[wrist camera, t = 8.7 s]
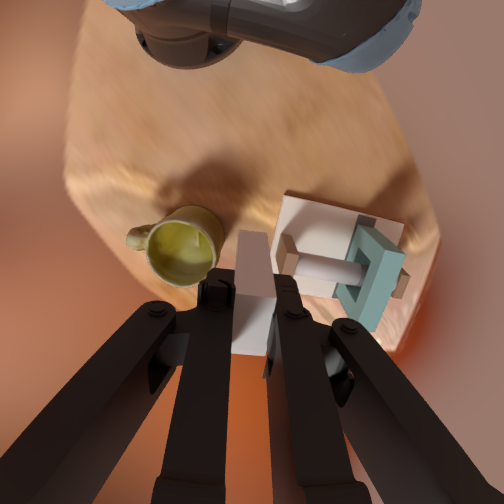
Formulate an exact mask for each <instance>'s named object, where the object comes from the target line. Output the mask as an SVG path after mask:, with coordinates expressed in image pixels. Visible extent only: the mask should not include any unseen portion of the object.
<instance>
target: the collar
mask: <svg viewBox="0 0 504 504" xmlns="http://www.w3.org/2000/svg"><path fill="white" fill-rule="evenodd" d="M405 256H406V254H405V253H404V252H403V251H401V250H400V249H399V248H398V247H397V246H396V245H395V244H393V243H392V242H391V241H390V240H389V239H388V238H386V237H385V236H384V235H383V234H382V233H381V232H379V231H378V230H377V229H376V228H371V227H367V226H363V225H359V224H358V225H357V229H356V232H355V235H354V238H353V242H352V245H351V248H350V251H349V254H348V257H347V260H346V261H350V262H356V263H361V264H366V265H369V268H368V271H367V274H366V277H365V279H364V282H363V285H362V287H360V286H354V285H348V284H343V283H339V284H338V287H337V290H336V294H337V296H338V298H339V300H340V302H341V304H342V306H343V308H344V310H345V312H346V314H347V316H348V318H350V319H354V320H356V321H358V322H360V323H361V324H362V325H363V326H364V327H365V328H366V329H367V331H368V332H375V330H376V328H377V326H378V323H379V321H380V319H381V317H382V314H383V312H384V310H385V307H386V305H387V303H388V300H389V298H390V295H391V293H392V290H393V288H394V285H395V283H396V280H397V278H398V275H399V273H400V270H401V267H402V265H403V262H404V259H405Z"/></svg>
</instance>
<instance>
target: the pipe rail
mask: <svg viewBox="0 0 504 504" xmlns="http://www.w3.org/2000/svg"><path fill="white" fill-rule="evenodd" d="M358 224H359V225H363V226H367V227H371V228H376V229H377V230H378V231H379V232H381V233H382V234H383V235H384V236H385V237H386V238H388V239H389V240H390V241H391V242H392V243H393V244H395V245H396V246H398V243H399V240H400V237H401V234H402V231H403V228H404V224H403V223H400V222H396V221H392V220H388V219H385V218H381V217H377V216H373V215H369V214H365V213H361V212H357V211H353V210H349V209H345V208H341V207H337V206H333V205H329V204H324V203H320V202H316V201H311V200H307V199H302V198H298V197H293V196H289V195H283V199H282V203H281V208H280V212H279V216H278V220H277V224H276V228H275V233H274V237H273V241H272V245H271V249H270V256H271V263H272V269H273V273H275V274H285V275H291V276H292V277H293V278H294V279H295V280H296V282H297V286H298V289H299V293H300V294H304V295H311V296H317V297H323V298H330V299H336V300H339V298H338V296H337V294H336V290H337V287H338V284H339V283H343V284H348V285H354V286H360V287H362V285H363V282H364V279H365V277H366V274H367V271H368V268H369V265H366V264H361V263H356V262H350V261H346V260H347V257H348V254H349V251H350V248H351V245H352V242H353V238H354V235H355V232H356V229H357V225H358ZM410 277H411V276H410V275H409V274H408V273H407V272H406V271H405V270H404V269H403V268H402V267H401V270H400V273H399V275H398V278H397V280H396V283H395V285H394V288H393V290H392V293H391V296H392V297H393V298H398V299H402V297H403V294H404V292H405V289H406V287H407V284H408V282H409V279H410Z"/></svg>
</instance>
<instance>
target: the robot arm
mask: <svg viewBox="0 0 504 504" xmlns="http://www.w3.org/2000/svg"><path fill="white" fill-rule="evenodd" d="M103 1H104V2H105V3H106V4H108V5H109V6H110V7H111V6H112V7H113V8H115V9H116V10H118V11H119V12H120V13H121V14H122V15H124V16H125V17H126V18H127V19H129V20H130V21H131V22H132V23H133V24H135V31H136V36H137V39H138V41H139V43H140V45H141V46H142V48H143V49H144V50H145V52H146V53H147V54H148V55H150V56H151V57H152V58H154V59H155V60H156V61H158V62H160V63H161V64H164V65H166V66H169V67H172V68H176V69H198V68H203V67H207V66H210V65H212V64H215V63H217V62H219V61H221V60H223V59H224V58H226V57H227V56H229V55H230V54H231V53H232V52H233V51H234V50H235V49H236V48H237V47H238V46H239V45H240V44H241V42H242V41H243V40H246V41H250V42H254V43H258V44H262V45H265V46H269V47H272V48H276V49H279V50H283V51H286V52H289V53H292V54H296V55H299V56H302V57H305V58H308V59H309V60H310V61H311V62H312V63H314V64H317V65H327V66H330V67H333V68H336V69H339V70H342V71H345V72H348V73H364V72H368V71H370V70H373V69H375V68H376V67H378V66H380V65H381V64H383V63H384V62H385V61H386V60H388V58H390V57H391V56H392V55H393V54H394V53H395V52H396V51H397V50H398V49H399V47H400V46H401V45H402V44H403V43H404V41H405V40H406V38H407V37H408V35H409V34H410V32H411V30H412V29H413V24H412V22H413V20H414V19H416V18H417V17H418V16H419V13H420V9H421V5H422V0H103ZM266 350H267V353H268V355H267V360H266V365H265V369H264V374H263V378H264V379H265V378H266V382H267V398H268V415H269V433H270V450H271V468H272V488H273V504H372V501H371V497H370V493H369V490H368V488H367V486H366V485H365V484H364V483H363V482H360V481H356V479H355V478H354V475H353V472H352V468H351V464H350V459H349V455H348V451H347V447H346V442H345V438H344V434H343V431H344V433H345V435H346V437H347V438H348V440H349V442H350V444H351V445H352V447H353V449H354V451H355V453H356V454H357V456H358V458H359V460H360V462H361V463H362V465H363V467H364V469H365V470H366V472H367V474H368V476H369V477H370V479H371V481H372V483H373V485H374V486H375V488H376V490H377V492H378V494H379V495H380V497H381V499H382V501H383V502H384V504H504V494H502V493H501V492H500V491H498V490H497V489H495V488H494V487H493V486H491V485H490V484H488V482H487V481H486V480H485V478H484V477H483V476H482V474H481V473H480V471H479V470H478V469H477V467H476V466H475V465H474V464H473V462H472V461H471V459H470V458H469V457H468V455H467V454H466V453H465V452H464V450H463V449H462V447H461V446H460V445H459V444H458V442H457V441H456V440H455V438H454V437H453V436H452V435H451V433H450V432H449V431H448V429H447V428H446V427H445V425H444V424H443V423H442V422H441V420H440V419H439V418H438V416H437V415H436V414H435V413H434V411H433V410H432V409H431V408H430V406H429V405H428V404H427V402H426V401H425V400H424V399H423V397H422V396H421V395H420V394H419V393H418V391H417V390H416V389H415V388H414V386H413V385H412V384H411V383H410V381H409V380H408V379H407V378H406V376H405V375H404V374H403V373H402V371H401V370H400V369H399V368H398V367H397V365H396V364H395V363H394V362H393V360H392V359H391V358H390V357H389V356H388V354H387V353H386V352H385V351H384V350H383V348H382V347H381V346H380V345H379V344H378V342H377V341H376V340H375V339H374V338H373V336H372V335H371V334H370V333H369V332H368V331H367V329H366V328H365V327H364V326H363V325H362V324H361V323H360V322H358V321H356V320H354V319H350V318H338V319H336V320H334V321H333V323H332V326H329V325H325V324H321V323H318V322H316V321H314V320H313V318H312V315H311V313H310V312H309V311H308V310H307V309H306V308H304V307H303V304H302V301H301V297H300V293H299V289H298V286H297V282H296V280H295V279H294V278H293V277H292V276H291V275H285V274H275V273H273V269H272V263H271V256H270V250H269V243H268V237H267V233H264V232H255V231H246V230H239V232H238V240H237V249H236V257H235V266H234V270H230V269H221V268H212V269H211V270H210V271H208V272H207V276H206V278H205V279H203V280H201V281H200V282H199V284H198V298H197V307H195V308H193V309H191V310H187V311H178V312H176V310H175V307H174V306H173V305H172V304H170V303H168V302H165V301H150V302H146V303H144V304H143V305H141V306H140V307H139V309H137V310H136V311H135V312H134V313H133V314H132V315H131V316H130V317H129V319H127V320H126V322H125V323H124V324H123V325H122V326H121V327H120V328H119V329H118V330H117V331H116V332H115V333H114V334H113V335H112V336H111V337H110V338H109V339H108V340H107V341H106V342H105V343H104V344H103V345H102V346H101V348H99V350H98V351H96V353H95V354H94V355H93V356H92V357H91V358H90V359H89V360H88V361H87V362H86V363H85V364H84V365H83V366H82V367H81V368H80V370H79V371H78V372H77V373H76V374H75V375H74V376H73V377H72V378H71V379H70V380H69V381H68V383H66V385H65V386H64V387H63V388H62V389H61V390H60V391H59V392H58V393H57V394H56V395H55V397H54V398H53V399H52V400H51V401H50V402H49V403H48V405H46V406H45V408H44V409H43V410H42V411H41V412H40V413H39V414H38V415H37V417H36V418H35V419H34V420H33V421H32V422H31V423H30V425H29V426H28V427H27V428H26V429H25V430H24V431H23V432H22V434H21V435H20V436H19V437H18V438H17V439H16V441H15V442H14V443H13V444H12V445H11V446H10V448H9V449H8V450H7V451H6V452H5V453H4V454H3V456H2V457H1V458H0V504H92V502H93V501H94V499H95V497H96V496H97V494H98V493H99V491H100V490H101V488H102V486H103V485H104V483H105V481H106V480H107V479H108V477H109V475H110V474H111V472H112V471H113V469H114V467H115V466H116V464H117V463H118V461H119V459H120V458H121V456H122V455H123V453H124V451H125V450H126V448H127V446H128V445H129V443H130V442H131V440H132V439H133V437H134V436H135V434H136V432H137V431H138V429H139V428H140V426H141V424H142V423H143V421H144V420H145V418H146V416H147V415H148V413H149V412H150V410H151V409H152V407H153V405H154V404H155V402H156V400H157V399H158V397H159V396H160V394H161V393H162V391H163V389H164V388H165V386H166V385H167V383H168V382H169V380H170V378H171V376H172V375H173V374H174V372H175V370H176V367H177V366H179V365H183V367H182V372H181V376H180V381H179V386H178V391H177V395H176V400H175V404H174V409H173V414H172V419H171V424H170V429H169V434H168V439H167V444H166V449H165V454H164V459H163V465H162V470H161V474H160V476H158V477H157V478H156V481H155V485H154V488H153V493H152V499H151V504H225V493H226V491H225V490H226V488H225V464H226V441H227V421H228V420H227V419H228V402H229V382H230V365H231V353H235V354H246V355H258V356H265V354H266ZM350 372H352V374H353V376H354V377H353V376H352V374H351V373H350ZM342 429H343V430H342Z"/></svg>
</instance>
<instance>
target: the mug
mask: <svg viewBox="0 0 504 504" xmlns="http://www.w3.org/2000/svg"><path fill="white" fill-rule="evenodd" d="M223 243H224V231H223V227H222V225H221V223H220V221H219V219H218V218H217V217H216V216H215V215H214V214H213V213H212V212H210V211H209V210H207V209H205V208H202V207H199V206H184V207H181V208H179V209H177V210H176V211H175V212H173V213H172V214H171V215H169V216H167V217H165V218H164V219H162V220H161V221H159V222H158V223H156V224H152V225H143V226H140V227H135V228H132V229H131V230H130V231H129V233H128V234H127V238H126V245H127V246H128V247H130V248H132V249H134V250H137V251H141V250H146V258H147V261H148V264H149V266H150V268H151V269H152V271H153V273H154V274H155V275H156V276H157V277H158V278H159V279H161V280H162V281H164V282H165V283H167V284H169V285H171V286H174V287H177V288H191V287H193V286H195V285H198V284H199V282H200V281H201V280H203V279H205V278H206V276H207V272H208V271H210V270H211V269H212V268H215V267H216V265H217V264H218V261H219V258H220V252H221V249H222V246H223Z"/></svg>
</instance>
